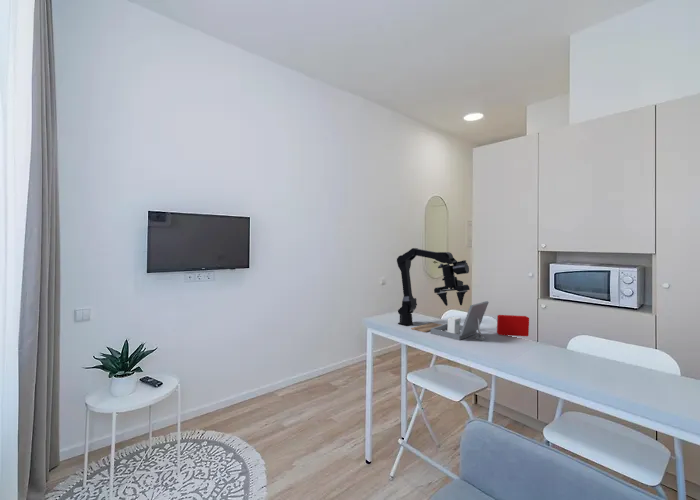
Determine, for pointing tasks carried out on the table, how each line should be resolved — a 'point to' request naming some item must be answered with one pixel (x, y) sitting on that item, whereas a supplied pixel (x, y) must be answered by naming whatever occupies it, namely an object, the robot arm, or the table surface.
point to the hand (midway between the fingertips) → (453, 305)
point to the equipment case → (452, 335)
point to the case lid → (473, 317)
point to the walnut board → (426, 327)
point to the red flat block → (512, 325)
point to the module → (453, 325)
